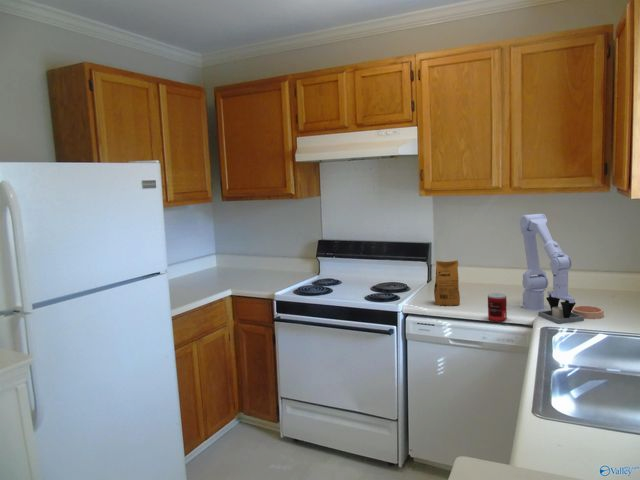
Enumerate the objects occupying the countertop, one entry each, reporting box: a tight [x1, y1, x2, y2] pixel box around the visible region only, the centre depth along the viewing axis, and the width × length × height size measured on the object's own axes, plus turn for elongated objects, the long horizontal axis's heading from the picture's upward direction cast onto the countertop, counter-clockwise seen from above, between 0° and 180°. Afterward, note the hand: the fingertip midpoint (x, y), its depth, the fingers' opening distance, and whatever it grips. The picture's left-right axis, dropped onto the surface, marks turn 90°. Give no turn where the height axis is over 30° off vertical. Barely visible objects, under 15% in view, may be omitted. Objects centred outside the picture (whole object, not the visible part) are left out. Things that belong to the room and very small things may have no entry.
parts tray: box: [537, 309, 585, 325], centre depth 205 cm, size 13×12×2 cm
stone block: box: [552, 305, 564, 319], centre depth 205 cm, size 4×5×4 cm
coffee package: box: [433, 260, 461, 307], centre depth 241 cm, size 10×12×22 cm
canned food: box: [487, 292, 508, 323], centre depth 211 cm, size 8×8×11 cm
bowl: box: [571, 305, 605, 320], centre depth 208 cm, size 12×12×3 cm
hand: (560, 315), depth 205 cm, fingers open, 7 cm apart
